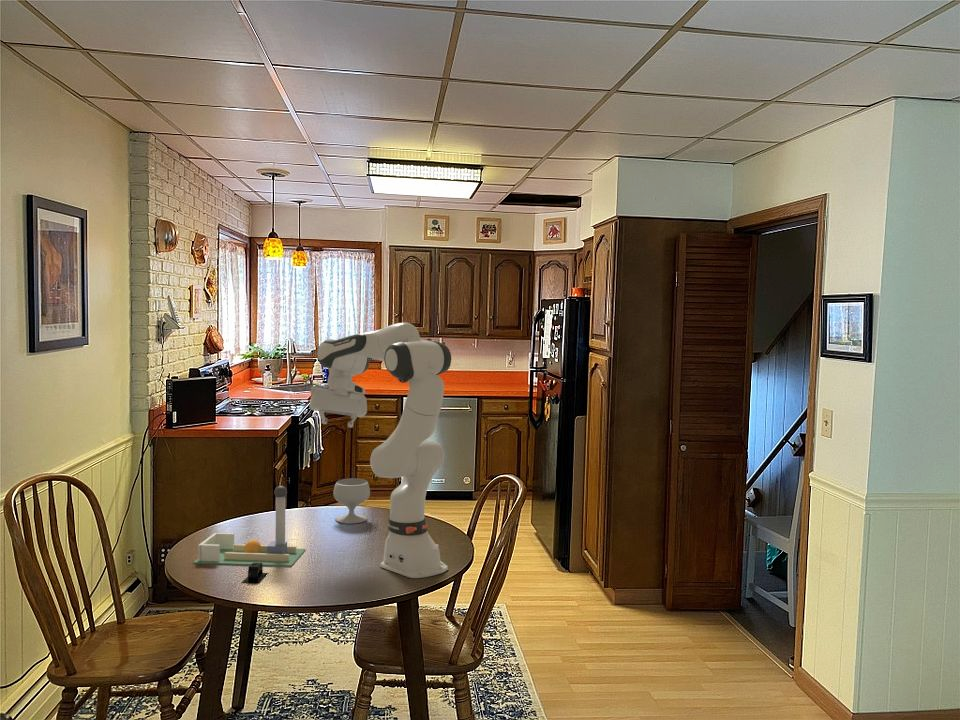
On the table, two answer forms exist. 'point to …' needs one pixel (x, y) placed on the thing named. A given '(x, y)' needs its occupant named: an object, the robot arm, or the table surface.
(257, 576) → the black boxy piece
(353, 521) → the chalice
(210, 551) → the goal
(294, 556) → the pitch
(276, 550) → the lever
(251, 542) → the ball
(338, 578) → the table surface
